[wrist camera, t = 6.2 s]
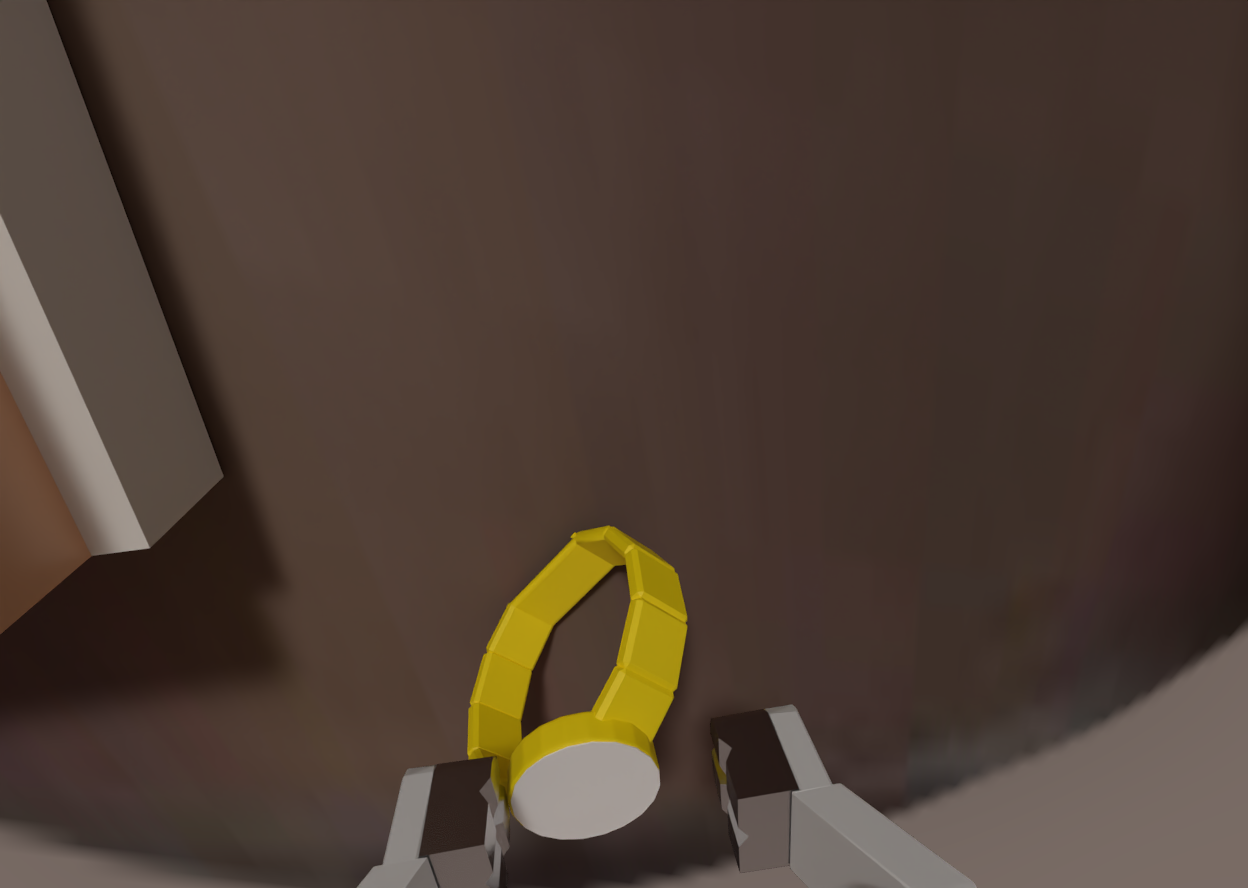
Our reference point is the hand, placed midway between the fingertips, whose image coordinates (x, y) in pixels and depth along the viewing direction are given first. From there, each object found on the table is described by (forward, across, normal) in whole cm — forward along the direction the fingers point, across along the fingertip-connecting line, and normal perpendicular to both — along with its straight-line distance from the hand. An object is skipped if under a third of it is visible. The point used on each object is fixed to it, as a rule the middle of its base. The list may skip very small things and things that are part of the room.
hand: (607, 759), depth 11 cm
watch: (+6, +1, 0) cm, 6 cm away
